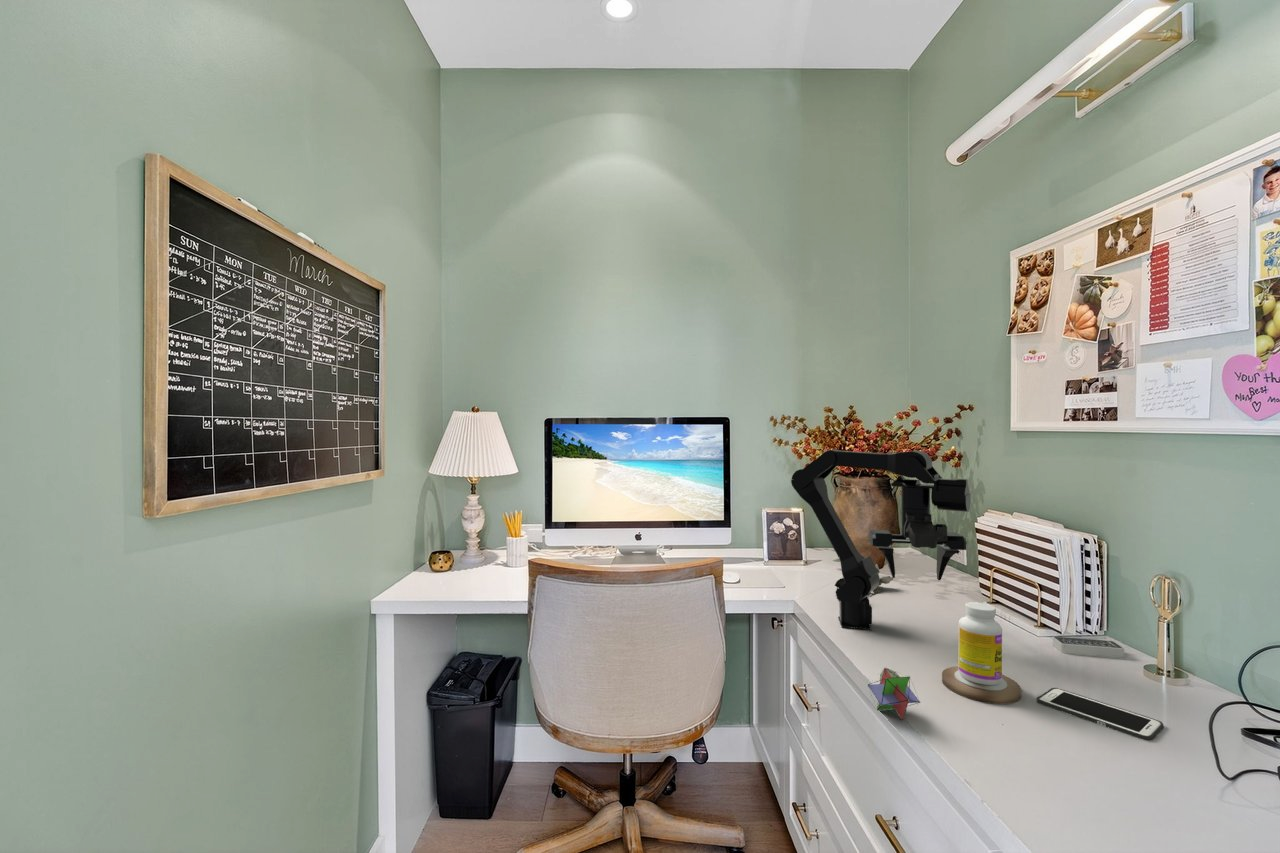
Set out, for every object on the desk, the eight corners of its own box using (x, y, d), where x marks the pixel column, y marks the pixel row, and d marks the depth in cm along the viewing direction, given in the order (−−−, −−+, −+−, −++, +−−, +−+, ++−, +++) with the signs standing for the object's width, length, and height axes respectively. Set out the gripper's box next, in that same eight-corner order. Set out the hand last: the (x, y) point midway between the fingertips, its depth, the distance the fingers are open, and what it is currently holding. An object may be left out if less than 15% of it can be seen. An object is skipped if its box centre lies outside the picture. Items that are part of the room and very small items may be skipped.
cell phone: (1053, 691, 98) (1053, 686, 98) (1165, 728, 86) (1165, 722, 86) (1035, 704, 94) (1035, 698, 94) (1150, 744, 82) (1150, 738, 82)
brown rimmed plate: (954, 699, 95) (954, 690, 95) (933, 669, 106) (933, 662, 106) (1034, 707, 92) (1034, 698, 92) (1004, 675, 104) (1004, 667, 104)
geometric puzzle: (934, 714, 86) (914, 660, 90) (893, 718, 85) (875, 662, 89) (911, 723, 91) (893, 671, 96) (872, 726, 90) (856, 674, 95)
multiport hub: (1051, 646, 118) (1051, 636, 118) (1113, 651, 116) (1113, 640, 116) (1061, 655, 114) (1061, 643, 114) (1125, 660, 111) (1125, 648, 111)
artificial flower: (828, 604, 151) (822, 566, 154) (875, 599, 164) (869, 564, 167) (857, 603, 144) (850, 563, 147) (904, 598, 157) (897, 562, 160)
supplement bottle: (1000, 690, 95) (1001, 614, 95) (956, 679, 99) (956, 607, 99) (1002, 676, 100) (1003, 604, 100) (960, 666, 104) (961, 598, 104)
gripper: (877, 511, 117) (877, 586, 117) (975, 514, 113) (976, 591, 113) (867, 504, 128) (868, 572, 128) (957, 507, 124) (958, 577, 124)
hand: (916, 578), depth 123 cm, fingers open, 9 cm apart
